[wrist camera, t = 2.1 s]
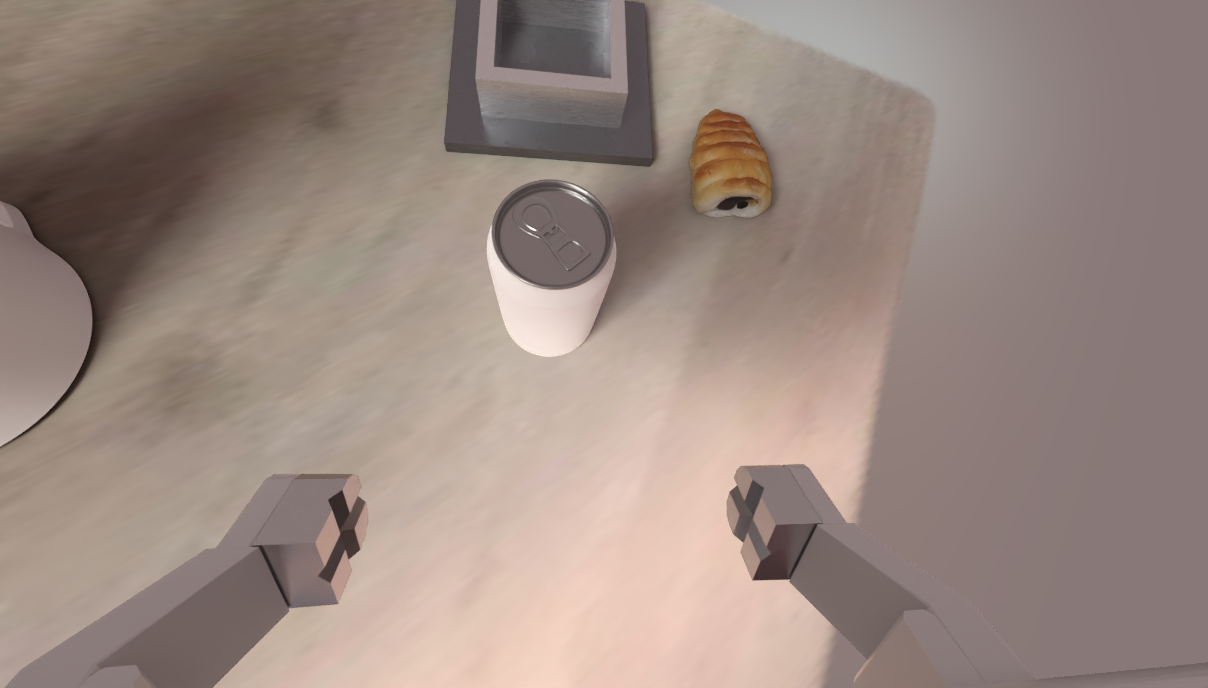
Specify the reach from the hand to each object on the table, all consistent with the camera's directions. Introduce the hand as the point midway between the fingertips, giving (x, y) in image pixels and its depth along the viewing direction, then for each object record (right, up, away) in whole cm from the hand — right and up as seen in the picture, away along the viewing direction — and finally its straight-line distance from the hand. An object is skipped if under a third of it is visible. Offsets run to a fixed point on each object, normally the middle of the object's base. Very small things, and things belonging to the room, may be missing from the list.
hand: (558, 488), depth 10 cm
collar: (-3, +26, +27) cm, 38 cm away
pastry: (+11, +17, +28) cm, 34 cm away
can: (-3, +5, +22) cm, 23 cm away
